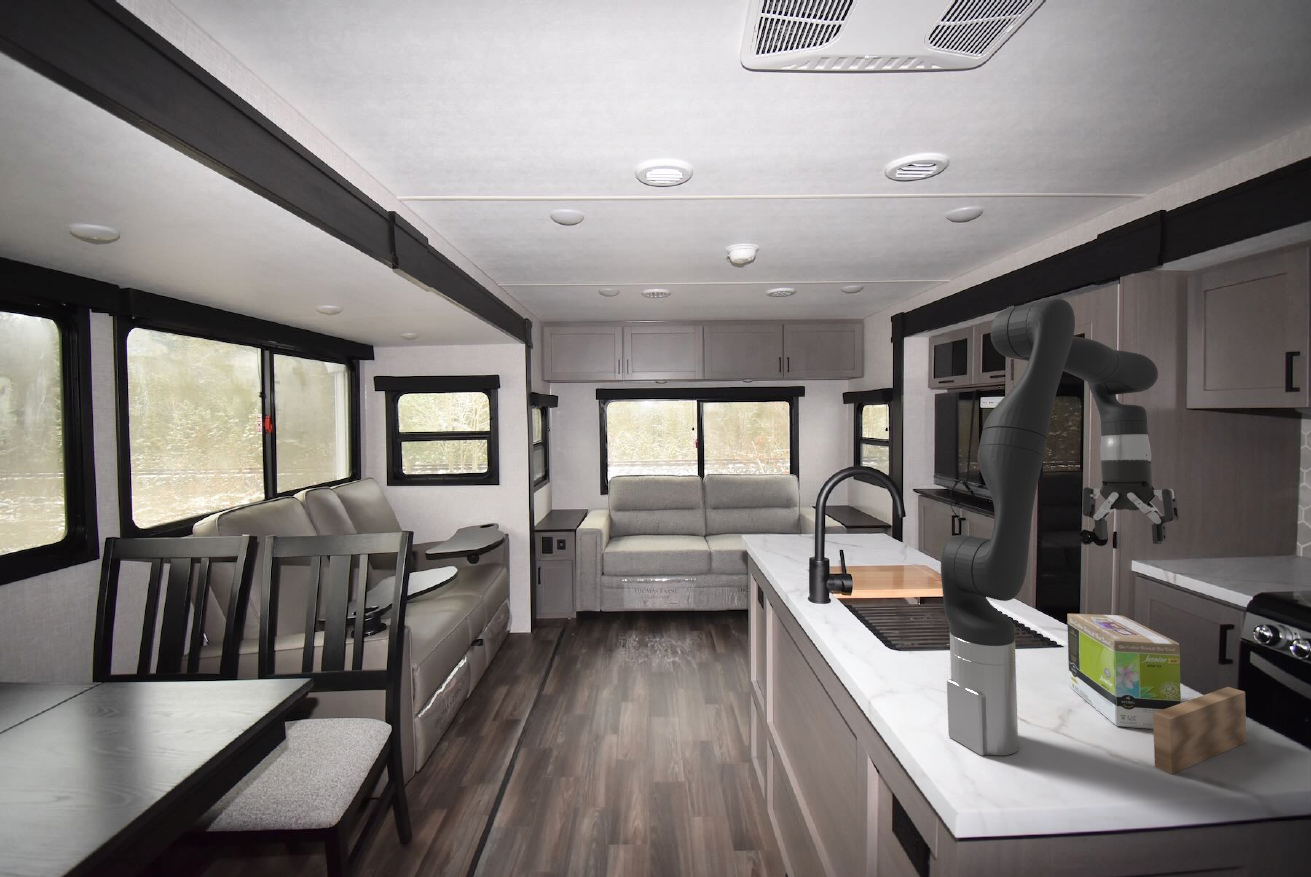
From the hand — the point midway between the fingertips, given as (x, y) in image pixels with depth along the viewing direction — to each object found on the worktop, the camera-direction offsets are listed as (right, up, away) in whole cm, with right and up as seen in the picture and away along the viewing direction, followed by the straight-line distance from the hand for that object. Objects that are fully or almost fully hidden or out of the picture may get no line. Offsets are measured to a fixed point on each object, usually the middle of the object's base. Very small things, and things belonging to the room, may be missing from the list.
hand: (1129, 541), depth 106 cm
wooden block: (-9, -28, -23) cm, 37 cm away
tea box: (-9, -29, -8) cm, 31 cm away
